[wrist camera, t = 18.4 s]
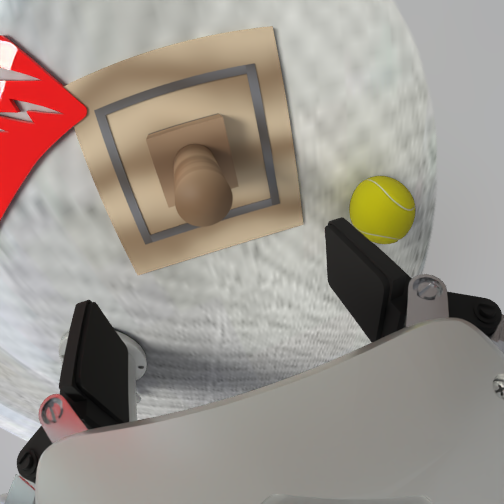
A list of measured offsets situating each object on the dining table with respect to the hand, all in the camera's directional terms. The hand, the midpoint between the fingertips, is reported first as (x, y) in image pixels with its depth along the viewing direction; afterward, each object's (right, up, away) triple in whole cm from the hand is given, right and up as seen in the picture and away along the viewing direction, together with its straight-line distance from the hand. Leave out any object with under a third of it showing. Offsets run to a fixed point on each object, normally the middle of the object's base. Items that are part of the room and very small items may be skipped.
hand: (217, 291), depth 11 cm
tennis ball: (+14, +8, +21) cm, 26 cm away
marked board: (-4, +10, +13) cm, 17 cm away
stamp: (-4, +10, +13) cm, 17 cm away
